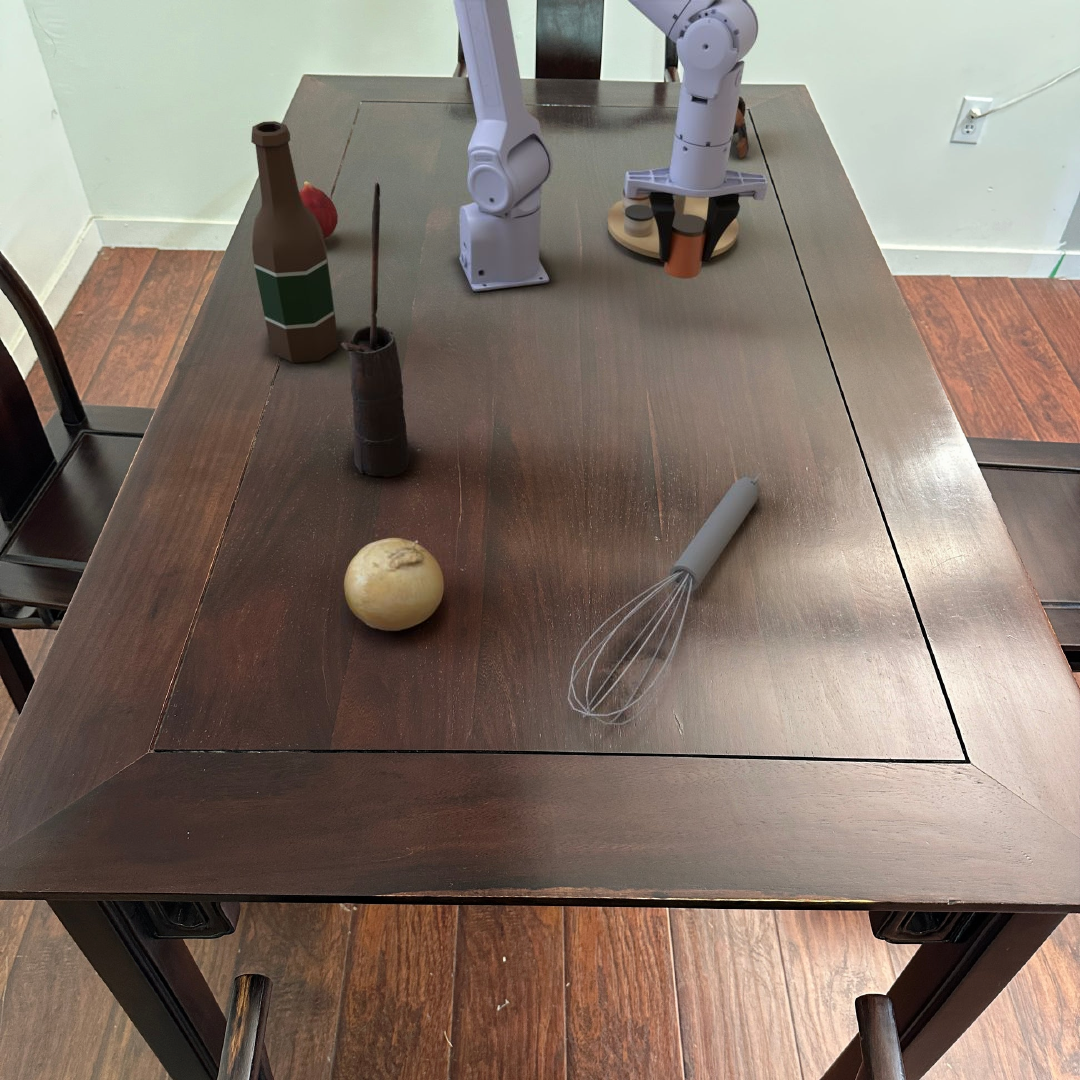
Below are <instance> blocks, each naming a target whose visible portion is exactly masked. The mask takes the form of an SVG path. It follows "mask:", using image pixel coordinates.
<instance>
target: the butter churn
mask: <svg viewBox="0 0 1080 1080" xmlns="http://www.w3.org/2000/svg"><path fill="white" fill-rule="evenodd" d="M380 197H381V187H380V183H378V182H375V183H374V192H373V205H372V210H371V286H370V287H371V288H370V291H371V293H370V294H371V298H370V299H371V300H370V312H371V313H370V317H371V319H370V325H366V326H364V327H362V328H360V329H358V330H356V331H355V332H354V334H353V335H352V338H351V339H350V340H349V343H347V342H345V341H343V342H341V343H340V345H341V347H342V348H343V349H344V350H346V352H348V353H349V358H350V364H349V365H350V366H349V368H350V370H349V371H350V380H351V382H350V394H351V397H352V414H353V433H354V434H353V445H354V446H353V447H354V448H353V450H354V453H353V455H354V464H355V467H356V468H357V470H358V471H359V472H360V474H367V475H370V476H374V477H383V478H389V477H394V476H398V475H399V474H402V473H403V472H404V471H405V470H406V469H407V468H408V467H409V464H410V453H409V443H408V433H407V423H406V417H405V410H404V397H403V396H404V384H403V380H402V368H401V364H400V358H399V357H400V356H399V352H398V346H397V342H396V338H395V336H394V334H393V331H392V330H389V329H388V328H387V327H385V326H383V325H378V317H377V312H378V306H379V305H378V303H379V301H378V300H379V297H378V296H379V295H378V294H379V293H378V290H379V255H380V253H379V252H380V224H381V223H380V220H381V200H380Z"/></svg>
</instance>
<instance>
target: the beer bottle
mask: <svg viewBox="0 0 1080 1080" xmlns="http://www.w3.org/2000/svg"><path fill="white" fill-rule="evenodd" d="M290 141H291V132H290V130H289V128H288V125H287V124H285V123H282V122H279V121H275V120H273V121H271V120H270V121H262V122H259V123H257V124H255V125H253V126H252V127H251V143H252V144H253V145H255V155H256V162H257V169H258V170H257V171H258V178H259V187H260V188H259V189H260V194H261V195H260V196H261V207H260V208H259V211H258V213H257V215H256V217H255V218H254V223H253V228H252V241H251V247H252V248H251V250H252V257H253V265H254V270H255V275H256V281H257V286H258V291H259V295H260V300H261V305H262V310H263V316H264V320H265V321H264V322H265V326H266V331H267V336H268V341H269V344H270V347H271V352H272V353H273V354H274V355H276V356H278V357H280V358H281V359H284V360H286V361H289V362H290V363H292V364H297V363H309V362H320V361H322V359H324V358H326V357H328V355H330V354H331V353H333V352H335V351H336V350H337V349H338V346H339V345H338V333H337V332H338V331H337V319H336V311H335V303H334V298H333V289H332V282H331V275H330V269H329V261H328V254H327V253H328V252H327V246H326V245H327V244H326V241H325V240H326V239H325V240H324V236H323V231H322V228H321V226H320V224H319V222H318V221H317V219H316V217H315V215H314V214H313V213H312V212H311V211H310V210H309V209H308V208H307V207H306V206H305V205H304V204H303V201H302V198H301V195H300V193H299V192H300V190H299V186H298V180H297V176H296V171H295V167H294V162H293V158H292V153H291V149H290V144H289V143H290Z"/></svg>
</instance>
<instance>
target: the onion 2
mask: <svg viewBox="0 0 1080 1080" xmlns="http://www.w3.org/2000/svg"><path fill="white" fill-rule="evenodd" d="M418 543H419V541H418V539H417V540H414V541H411V540H408V539H406V538H401V537H388V538H383V539H380V540H376V541H373V542H370V543H368V544H366V545H365V546H363V547H362V548H361V549H360V550H359V551H358V552H357V553H356V555H354V557H352V559H351V560H350V562H349V564H348V566H347V569H346V572H345V574H344V580H343V581H344V582H343V589H344V596H345V600H346V602H347V605H348V607H349V609H350V610H351V612H352V614H354V615H355V616H356V617H357V618H358V619H359V620H361V622H363V623H365V625H366V626H368V627H370V628H371V629H375V630H376V629H377V630H381V631H386V632H398V631H399V632H400V631H402V630H407V629H410V628H412V627H415V626H417V625H419V624H421V623H423V622H424V621H427V620H428V618H430V617H431V616H432V615H433V614H434V612H435V611H436V610H437V609H438V607H439V605H440V603H441V602H442V598H443V595H444V589H445V585H444V584H445V581H444V575H443V572H442V569H441V566H440V565H439V563H438V561H437V560H436V558H435V557H434V556H433V555H432V554H431V553H430V552H429V551H428V550H427V549H426V548H425V547H423V546H422V545H420V544H418Z"/></svg>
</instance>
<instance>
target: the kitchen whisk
mask: <svg viewBox="0 0 1080 1080" xmlns="http://www.w3.org/2000/svg"><path fill="white" fill-rule="evenodd" d="M760 475H761V472H757V473H756V474H755V476H754V477H753V478H751V477H748V476H742V477H740V478H739V479H738V480H736V481H734V483H732V485H730V488H729V489H728V491H727V492H726V493H725V494H724V496H723V497H722V499H721V500H720V501H719V503H718V504H717V506H716V507H715V508H714V510H713V511H712V512H711V514H710V515H709V516H708V518H706V519H707V520H706V521H705V522H704V523H703V525H702V526H701V527H700V529H699V530H698V532H697V533H696V534H695V536H694V537H693V538H692V540H691V541H690V543H689V544H688V545H687V547H685V548H686V549H685V550H684V551H683V553H682V554H681V555H680V557H679V558H678V560H676V562H675V563H674V565H672V567H671V569H670V571H669V576H668V577H667V578H665V579H663V580H661V581H659V582H658V583H656V584H655V585H653V586H651V587H649V588H648V589H646V590H645V591H644V592H642V593H640V594H639V595H637V596H636V597H635V598H633V599H632V600H630V601H629V602H628V603H626V604H625V605H624V606H622V607H621V608H619V610H617V611H616V612H615V613H613V614H612V615H611V616H610V617H609V618H607V619H606V620H605V621H604V622H603V623H602V624H601V626H599V627H598V628H597V629H596V630H595V631H594V632H593V633H592V634H591V636H590V637H589V638H588V639H587V641H586V642H585V643H584V645H583V646H582V647H581V648H580V650H579V652H578V655H577V657H576V659H575V661H574V663H573V665H572V669H571V677H570V685H569V688H568V695H567V700H568V702H569V704H570V706H571V708H572V709H573V710H574V711H576V712H578V713H581V714H582V717H583V718H584V719H585V718H586V717H587V716H588V717H590V718H591V720H592V721H593V723H594V725H595V726H597V727H603V728H605V727H607V726H609V725H610V726H622V725H625V724H627V723H629V722H631V721H633V720H636V719H637V718H638V717H639V716H640V715H641V714H642V712H644V711H645V710H646V709H647V708H648V707H649V705H650V704H651V702H652V701H653V699H654V698H655V696H656V694H657V693H658V691H659V690H660V688H661V686H662V684H663V681H664V680H665V677H666V675H667V673H668V671H669V669H670V666H671V663H672V661H673V658H674V655H675V654H676V650H677V646H678V643H679V639H680V636H681V633H682V629H683V625H684V622H685V617H686V613H687V609H688V605H689V600H690V595H691V592H693V591H695V590H697V589H698V587H699V586H700V585H701V584H702V582H703V580H704V579H705V578H706V576H707V574H708V573H709V571H710V570H711V568H712V567H713V566H714V564H715V563H716V561H717V560H718V558H719V557H720V555H721V554H722V552H723V551H724V550H725V548H726V546H727V545H728V543H729V542H730V541H731V540H732V537H733V536H734V534H735V533H736V532H737V530H738V529H739V527H740V526H741V525H742V523H743V522H744V520H745V518H746V517H747V516H748V514H749V513H750V511H751V510H752V509H753V507H754V506H755V504H756V502H757V501H758V499H759V495H760V492H761V488H760V485H759V483H758V482H757V480H758V479H759V476H760ZM672 583H673V585H674V586H675V587H674V588H673V590H672V591H671V593H670V594H669V595H668V596H667V598H666V599H665V600H664V602H663V603H662V604H661V606H660V607H659V608H658V610H657V611H656V612H655V614H654V615H653V616H652V617H651V619H649V621H648V623H647V624H646V625H645V627H644V628H643V630H642V631H641V632H640V633H639V634H638V636H637V637H636V639H635V640H634V641H633V643H631V645H630V647H629V648H628V649H627V651H626V652H625V653H624V655H623V656H622V658H621V659H619V661H618V663H616V666H615V667H614V668H613V669H612V671H611V672H610V674H608V677H607V678H606V679H605V680H604V681H603V683H602V685H601V686H600V688H599V689H598V691H597V692H596V693H595V695H594V696H593V698H592V699H591V701H589V689H590V683H591V682H590V680H591V677H592V674H593V672H594V669H595V666H596V663H597V660H598V659H599V657H600V655H601V654H602V652H603V650H604V648H605V647H606V645H607V644H608V642H609V641H610V640H611V638H612V636H613V635H614V634H615V633H616V631H617V630H618V629H619V628H620V627H621V626H622V625H623V624H624V623H625V622H627V620H628V619H630V618H631V617H632V616H633V615H635V613H637V612H638V611H639V610H640V609H641V608H643V606H645V605H646V604H647V603H648V602H650V601H651V600H652V599H653V598H654V597H656V596H657V595H658V594H659V593H661V592H662V591H663V590H664V589H666V588H667V587H668V586H669V585H671V584H672ZM659 585H660V586H659ZM658 586H659V587H658ZM656 587H657V588H656ZM654 588H656V589H655V590H653V591H652V592H651V593H649V594H648V595H647V596H646V597H645V598H644V599H642V601H640V602H639V603H638V604H637V605H636V606H635V607H634V608H633V609H632V610H631V611H630V612H628V614H627V615H626V616H624V618H623V619H622V621H620V623H618V625H617V626H616V627H615V628H614V629H613V630H612V631H611V632H610V633H609V634H608V635H606V637H604V639H603V640H602V641H601V642H600V643H599V644H598V645H597V647H595V648H594V650H593V651H591V653H590V654H589V655H588V656H587V658H586V659H585V660H584V662H583V663H582V665H581V666H580V667H579V668H578V670H577V671H576V673H575V668H576V665H577V662H578V661H579V658H580V656H581V654H582V653H583V651H584V649H585V648H586V647H587V645H588V644H589V643H590V642H591V640H592V639H593V637H595V635H596V634H597V633H598V632H599V631H600V630H601V629H602V628H603V627H604V626H605V625H606V624H607V623H608V622H610V621H611V620H612V619H613V618H614V617H616V616H617V615H618V614H619V613H620V612H622V610H624V609H625V608H626V607H628V606H629V605H631V604H632V603H634V602H635V601H636V600H637V599H639V598H641V597H642V596H643V595H645V594H647V593H648V592H650V591H651V590H652V589H654ZM676 590H677V591H676ZM680 591H681V594H680V596H679V599H678V602H677V604H676V607H675V608H674V611H673V613H672V616H671V618H670V620H669V623H668V624H667V626H666V629H665V632H664V634H663V635H662V638H661V640H660V643H659V645H658V646H657V648H656V651H655V653H654V655H653V657H652V658H651V661H650V663H649V665H648V667H647V668H646V671H645V673H644V675H643V677H642V678H641V679H640V681H639V683H638V685H637V687H636V689H635V690H634V692H633V693H632V695H631V697H630V698H629V699H628V701H627V702H626V704H625V705H624V706H623V708H622V709H619V710H616V711H613V712H610V713H607V714H605V713H604V714H603V713H602V714H601V713H592V712H593V711H594V710H595V709H596V708H597V707H598V706H599V705H600V704H601V703H602V702H603V700H604V699H605V698H607V696H608V695H609V694H610V693H611V692H612V690H613V689H614V688H615V686H616V685H617V684H618V682H619V681H621V678H622V677H623V676H624V674H626V672H627V671H628V669H629V668H630V667H631V665H632V664H633V663H634V662H635V660H636V658H637V657H638V655H639V654H640V653H641V651H642V650H643V648H644V647H645V646H646V644H647V642H648V641H649V639H650V638H651V636H652V635H653V633H654V632H655V631H656V629H657V627H658V626H659V624H660V623H661V621H663V618H664V617H665V615H666V613H667V612H668V610H669V609H670V607H671V606H672V604H673V602H674V601H675V598H677V596H678V594H679V592H680ZM675 592H676V593H675ZM685 592H687V596H686V602H685V607H684V610H683V615H682V617H681V618H682V619H681V621H680V625H679V627H678V631H677V633H676V636H675V639H674V641H673V644H672V647H671V649H670V652H669V653H668V655H667V657H666V659H665V660H664V661H665V662H664V664H663V665H662V667H661V669H660V670H659V672H658V673H657V674H656V676H655V678H654V679H653V681H652V683H651V684H650V685H649V687H648V688H646V689H645V691H644V692H643V693H642V694H641V695H640V696H639V697H638V698H637V699H635V700H634V701H633V702H632V700H633V698H634V697H635V696H636V694H637V691H638V690H639V689H640V687H641V685H642V683H643V682H644V679H645V678H646V676H647V674H648V672H649V670H650V669H651V667H652V664H653V663H654V660H655V658H656V656H657V655H658V652H659V651H660V648H661V646H662V644H663V642H664V640H665V637H666V635H667V633H668V632H669V628H670V626H671V624H672V622H673V619H674V617H675V615H676V612H677V610H678V608H679V605H680V603H681V600H682V598H683V595H684V593H685ZM674 593H675V594H674ZM673 594H674V595H673ZM672 595H673V598H672V599H671V601H670V602H669V604H668V606H667V607H666V609H665V611H664V612H663V613H662V614H661V616H660V618H659V620H658V621H657V623H656V624H655V626H654V627H653V629H652V630H651V632H650V633H649V635H648V636H647V637H646V639H645V641H644V642H643V643H642V644H641V647H640V648H639V650H638V651H637V652H636V654H635V655H634V657H633V658H632V659H631V661H630V662H629V663H628V665H627V666H626V667H625V668H624V670H623V671H622V673H621V674H620V675H619V677H617V679H616V680H615V682H614V683H613V684H612V686H611V687H610V688H609V690H608V691H606V693H605V694H604V695H603V696H602V698H601V699H600V700H599V701H598V702H597V703H596V704H595V705H594V706H593V707H592V708H590V707H591V706H592V704H593V703H594V701H595V699H596V698H597V696H598V695H599V693H601V690H603V688H604V687H605V685H606V684H607V682H608V681H609V680H610V678H611V677H612V676H613V674H614V672H616V670H617V668H618V667H619V665H620V664H621V663H622V662H623V660H624V659H625V658H626V656H627V655H628V654H629V652H630V651H631V649H632V648H633V647H634V645H635V644H636V643H637V641H639V639H640V638H641V636H642V635H643V634H644V632H645V631H646V630H647V628H648V627H649V626H650V624H651V623H652V621H654V619H655V617H656V616H657V615H658V614H659V613H660V611H661V610H662V608H663V607H664V606H665V604H666V603H667V602H668V600H669V599H670V598H671V596H672ZM601 646H602V647H601ZM600 647H601V648H600ZM599 648H600V650H599V652H598V653H597V655H596V657H595V659H594V661H593V664H592V666H591V669H590V672H589V675H588V678H587V685H586V690H585V691H586V692H585V700H586V706H587V707H585V706H584V705H583V704H582V702H581V701H580V700H579V699H578V697H577V694H576V691H575V687H574V683H575V681H576V678H577V677H578V674H579V673H580V671H581V670H582V668H584V666H585V665H586V663H587V662H588V660H589V659H590V658H591V657H592V656H593V655H594V653H595V652H596V651H597V650H598V649H599ZM666 665H667V667H666ZM665 667H666V670H665V671H664V669H665ZM663 671H664V674H663V676H662V678H661V680H660V682H659V684H658V686H657V688H656V690H655V692H654V693H653V694H652V696H651V698H650V699H649V701H648V703H647V704H646V705H645V706H644V707H643V708H642V709H641V710H640V711H639V712H638V713H636V715H635V716H634V717H631V718H630V719H627V720H625V721H622V722H615V721H616V720H617V719H618V718H619V717H620V716H621V715H622V714H623V712H625V711H626V710H628V709H630V707H632V706H633V705H634V704H636V703H637V702H639V701H641V699H642V698H643V697H644V696H645V695H646V694H647V692H649V690H650V689H651V688H652V687H653V686H654V685H655V683H656V682H657V680H658V678H659V677H660V675H661V673H662V672H663ZM571 692H572V693H573V697H574V699H575V701H576V702H577V703H578V705H579V706H580V707H581V708H582V709H583V710H584V711H583V710H581V709H578V708H576V707H575V705H574V703H573V702H572V700H571ZM616 714H617V715H616ZM612 715H616V716H615V718H613V719H612V720H610V721H609V722H606V721H604V720H602V719H601V718H599V717H609V716H612ZM596 720H597V721H599V722H601V724H600V723H597V721H596Z"/></svg>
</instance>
